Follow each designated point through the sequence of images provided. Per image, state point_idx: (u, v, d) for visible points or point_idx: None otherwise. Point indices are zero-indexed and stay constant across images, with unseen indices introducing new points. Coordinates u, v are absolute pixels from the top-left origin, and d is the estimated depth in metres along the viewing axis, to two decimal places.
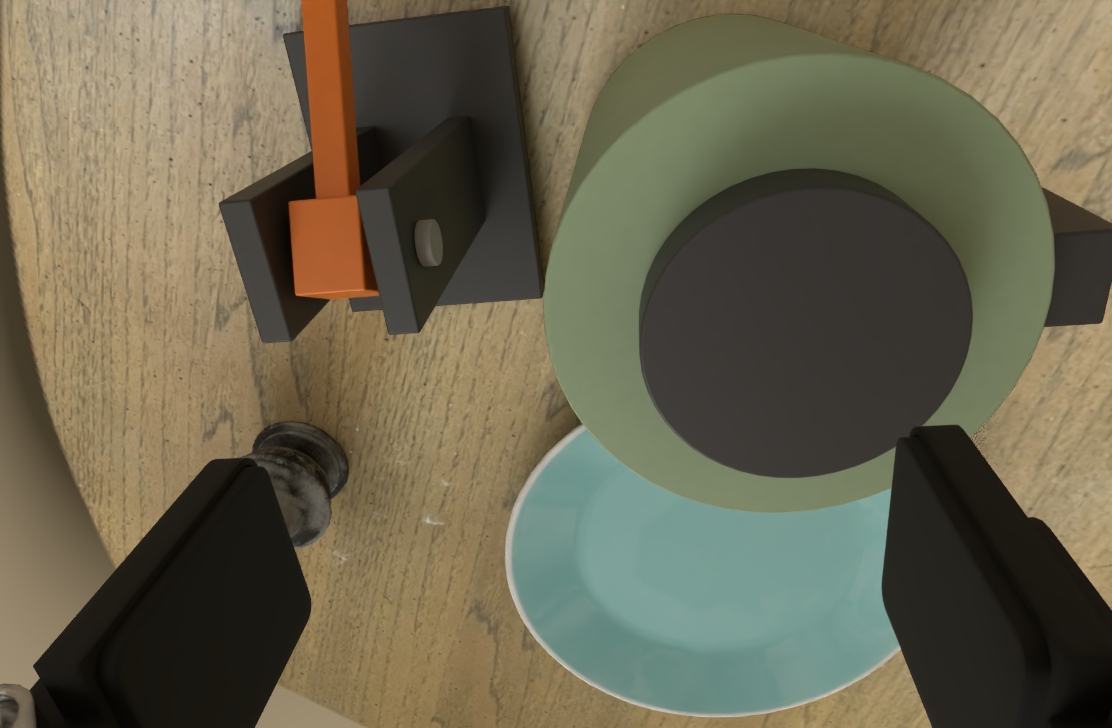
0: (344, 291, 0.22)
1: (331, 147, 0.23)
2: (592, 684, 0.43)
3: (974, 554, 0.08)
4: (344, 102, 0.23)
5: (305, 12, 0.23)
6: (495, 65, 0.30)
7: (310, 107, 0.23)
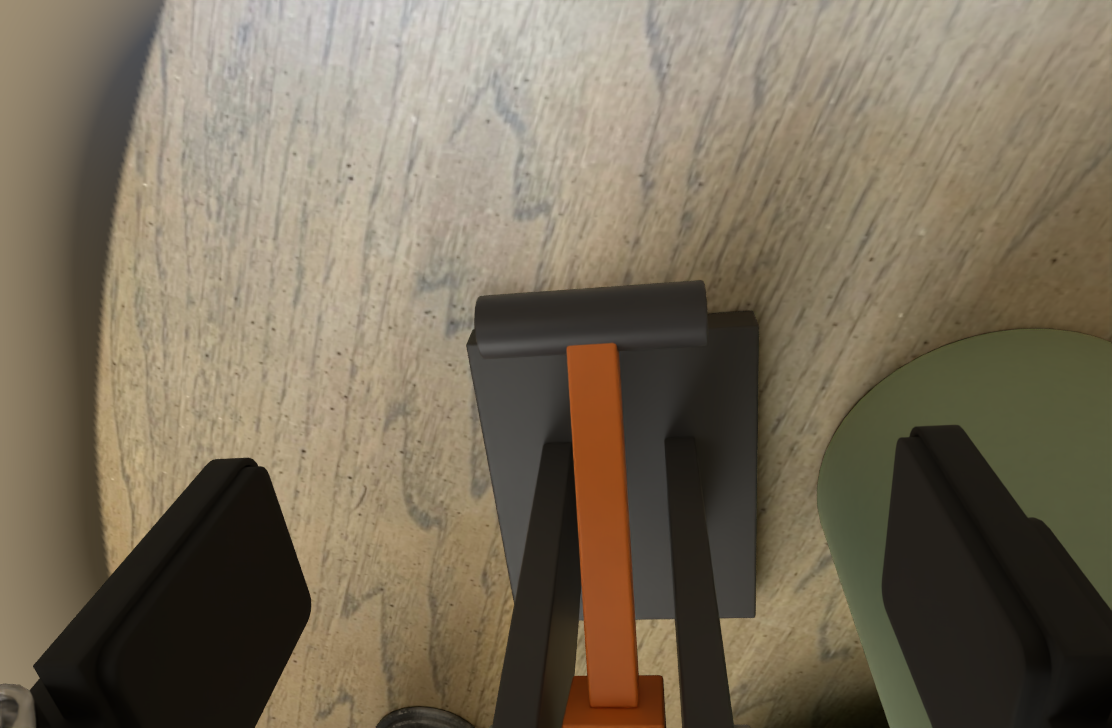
0: None
1: (613, 638, 0.17)
2: None
3: (974, 554, 0.08)
4: (631, 575, 0.17)
5: (578, 454, 0.17)
6: (736, 386, 0.24)
7: (583, 580, 0.17)
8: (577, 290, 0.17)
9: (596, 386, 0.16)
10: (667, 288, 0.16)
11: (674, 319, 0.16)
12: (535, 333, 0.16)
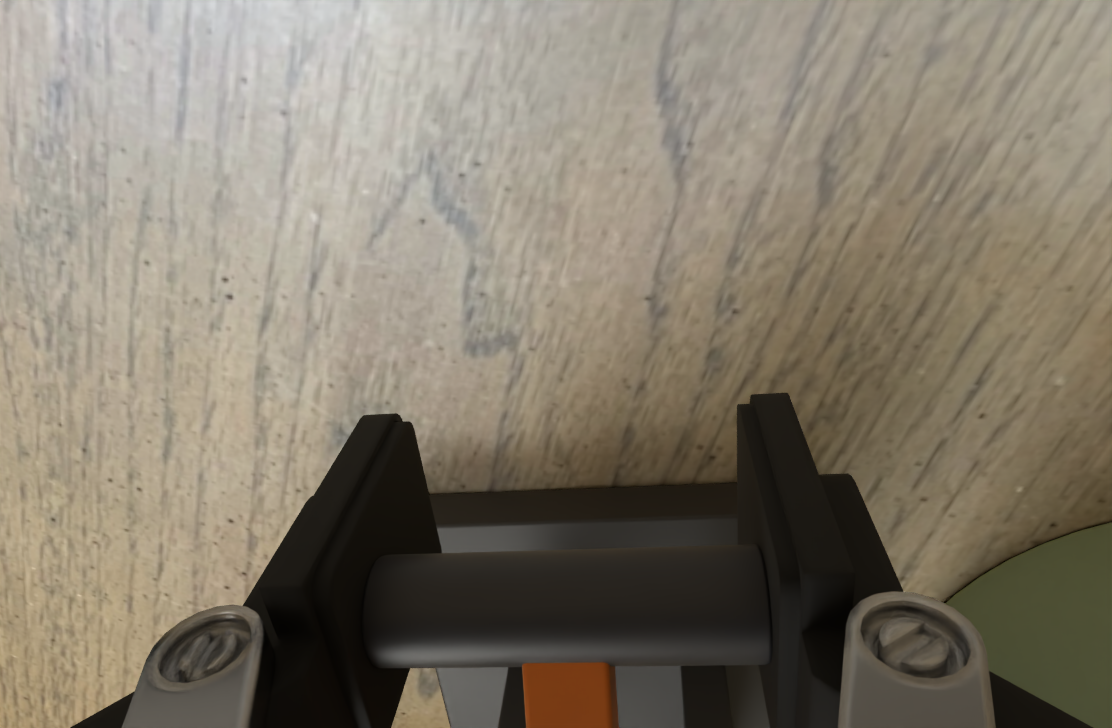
0: None
1: None
2: None
3: (765, 498, 0.09)
4: None
5: None
6: None
7: None
8: (541, 561, 0.10)
9: None
10: (699, 570, 0.09)
11: (712, 633, 0.09)
12: (466, 643, 0.09)
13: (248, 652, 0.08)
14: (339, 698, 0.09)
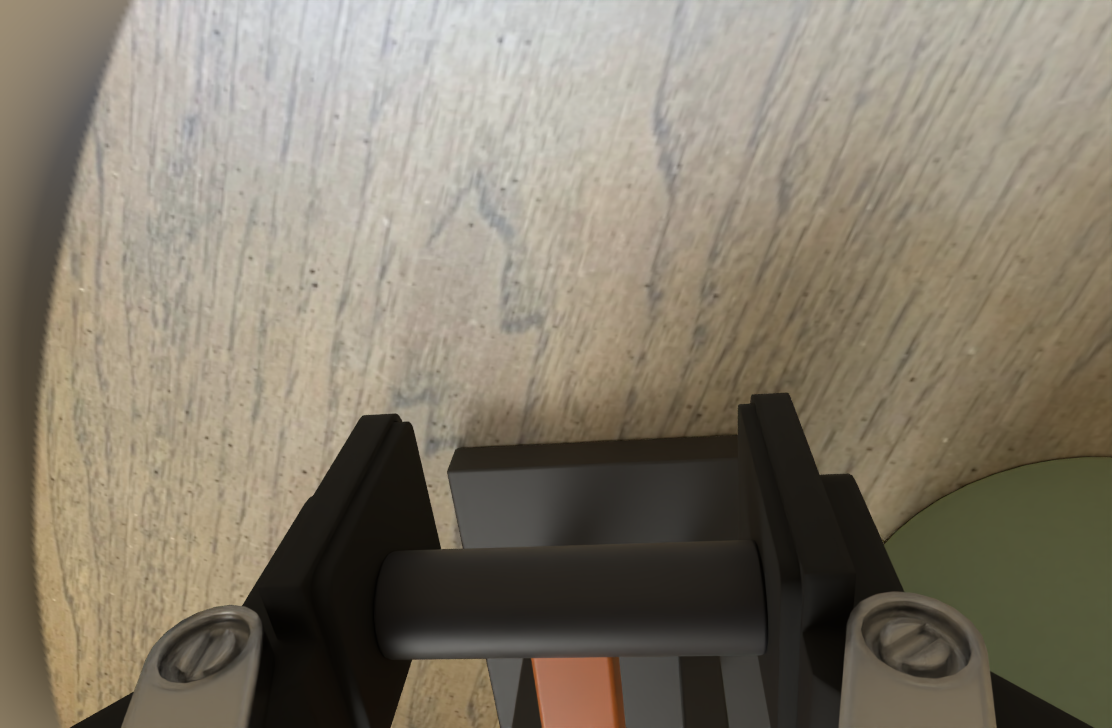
0: None
1: None
2: None
3: (766, 498, 0.09)
4: None
5: None
6: None
7: None
8: (544, 571, 0.10)
9: (581, 709, 0.10)
10: (698, 583, 0.09)
11: (711, 642, 0.09)
12: (477, 648, 0.10)
13: (247, 652, 0.08)
14: (338, 697, 0.09)
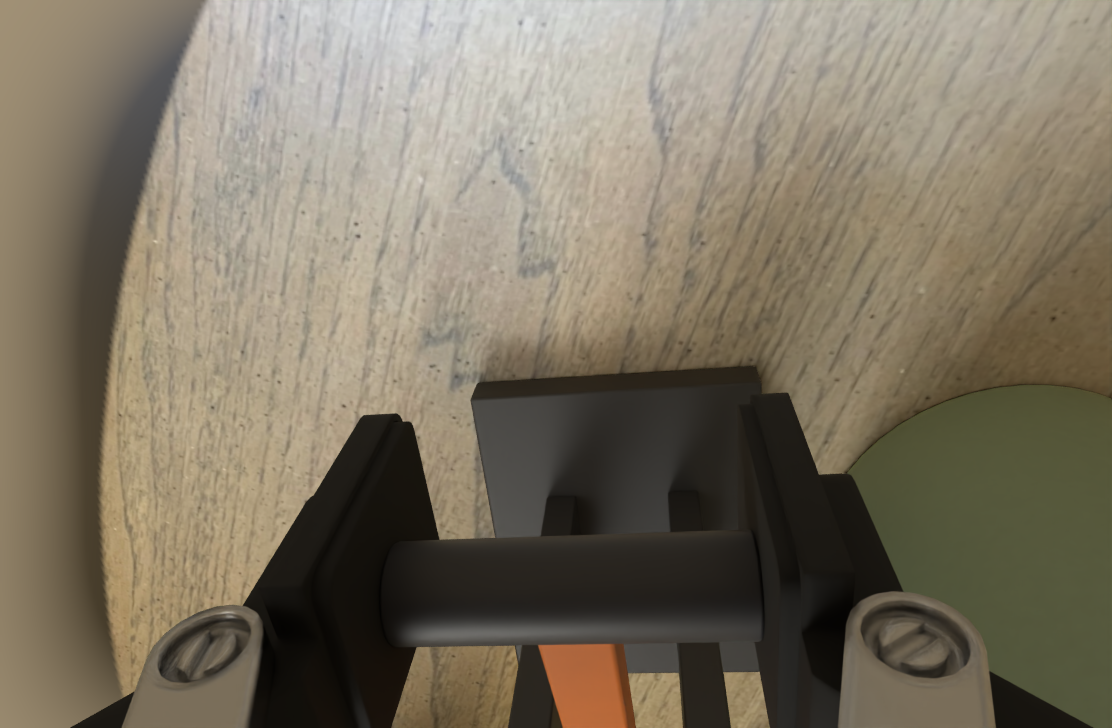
0: None
1: None
2: None
3: (765, 498, 0.09)
4: None
5: (566, 715, 0.12)
6: None
7: None
8: (545, 578, 0.10)
9: (585, 673, 0.11)
10: (699, 591, 0.10)
11: (709, 638, 0.10)
12: None
13: (248, 652, 0.08)
14: (339, 698, 0.09)
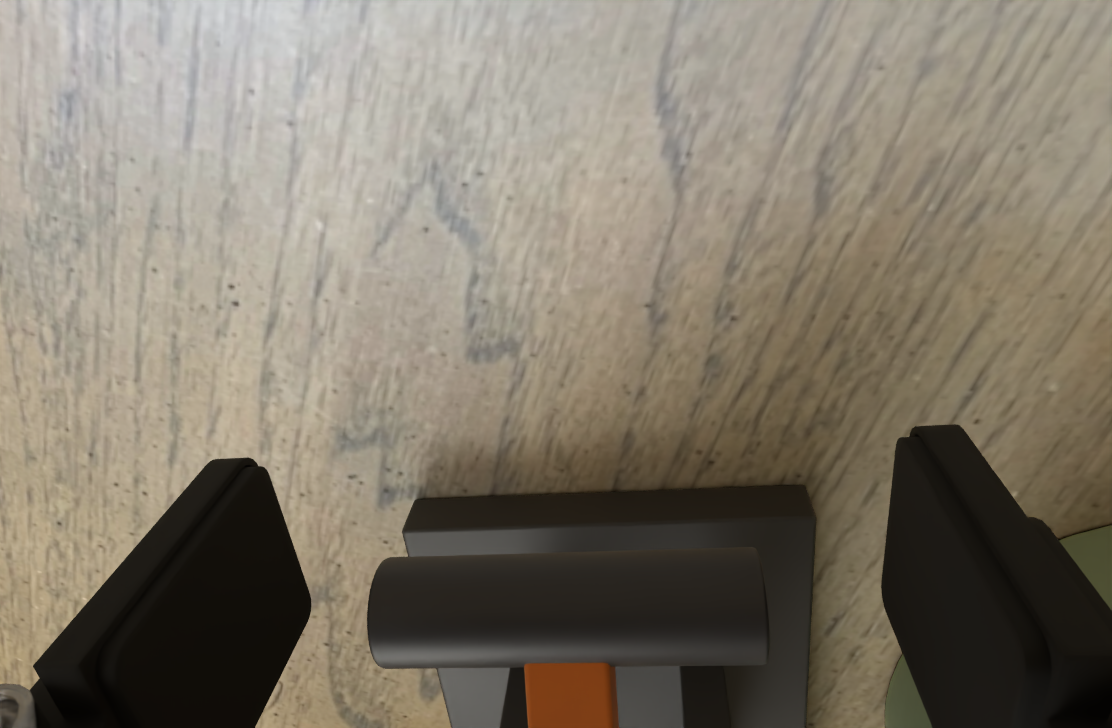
0: None
1: None
2: None
3: (974, 554, 0.08)
4: None
5: None
6: (781, 592, 0.17)
7: None
8: (543, 563, 0.10)
9: None
10: (697, 572, 0.09)
11: (710, 634, 0.09)
12: (470, 644, 0.10)
13: None
14: None
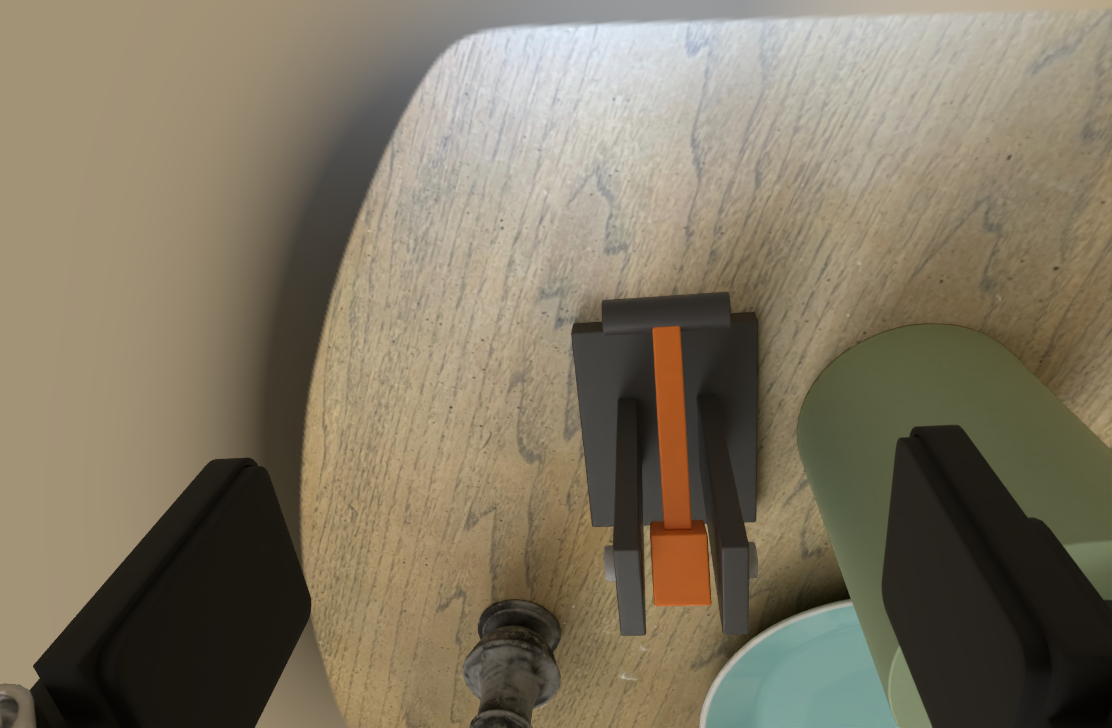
0: None
1: (678, 489, 0.30)
2: None
3: (974, 554, 0.08)
4: (687, 455, 0.30)
5: (659, 388, 0.30)
6: (743, 360, 0.37)
7: (661, 458, 0.30)
8: (658, 297, 0.30)
9: (669, 349, 0.30)
10: (708, 296, 0.30)
11: (712, 312, 0.29)
12: (635, 320, 0.30)
13: None
14: None
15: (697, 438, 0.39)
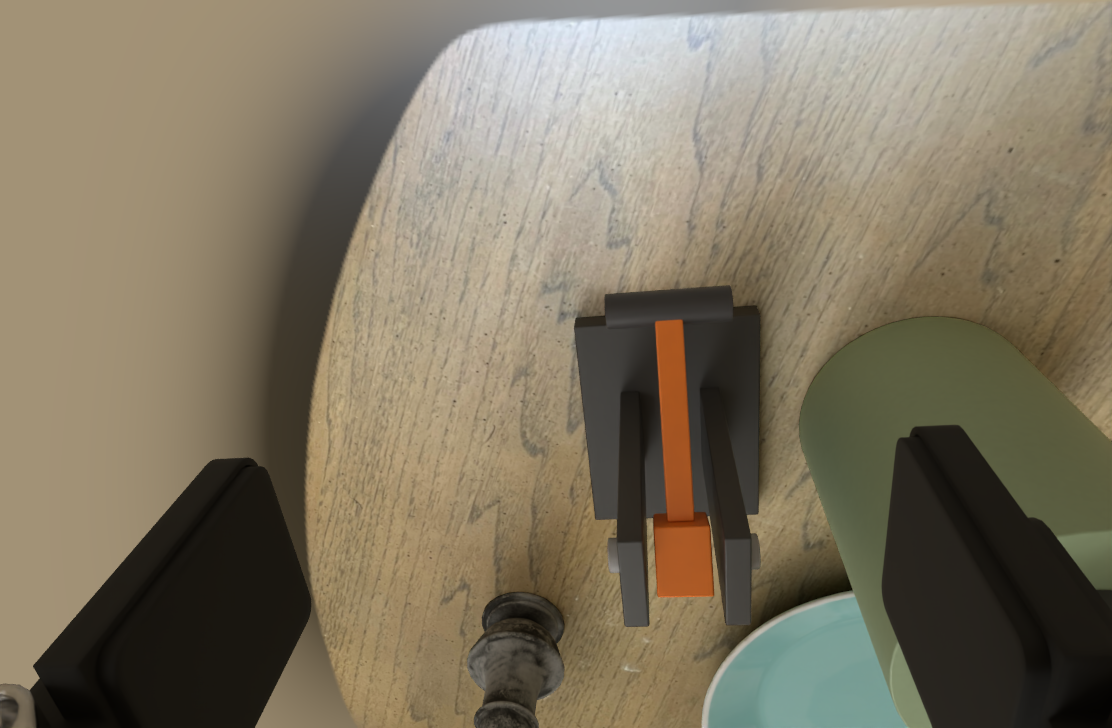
0: (697, 596, 0.30)
1: (681, 482, 0.30)
2: None
3: (974, 554, 0.08)
4: (690, 448, 0.30)
5: (661, 381, 0.30)
6: (746, 353, 0.37)
7: (664, 451, 0.30)
8: (660, 291, 0.30)
9: (671, 343, 0.30)
10: (710, 289, 0.30)
11: (715, 306, 0.30)
12: (638, 314, 0.30)
13: None
14: None
15: (699, 431, 0.39)
